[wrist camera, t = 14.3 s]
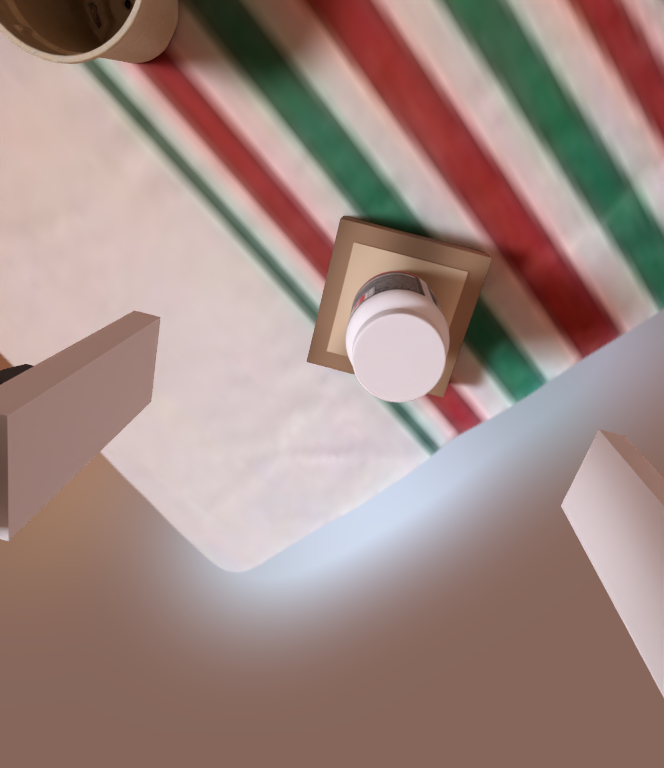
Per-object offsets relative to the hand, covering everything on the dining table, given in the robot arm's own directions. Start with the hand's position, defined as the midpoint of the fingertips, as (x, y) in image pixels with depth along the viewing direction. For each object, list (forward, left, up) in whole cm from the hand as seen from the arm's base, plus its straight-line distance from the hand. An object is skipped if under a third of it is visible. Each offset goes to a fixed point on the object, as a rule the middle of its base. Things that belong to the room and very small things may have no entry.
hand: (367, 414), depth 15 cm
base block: (+2, -1, -24) cm, 24 cm away
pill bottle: (+2, -1, -21) cm, 21 cm away
